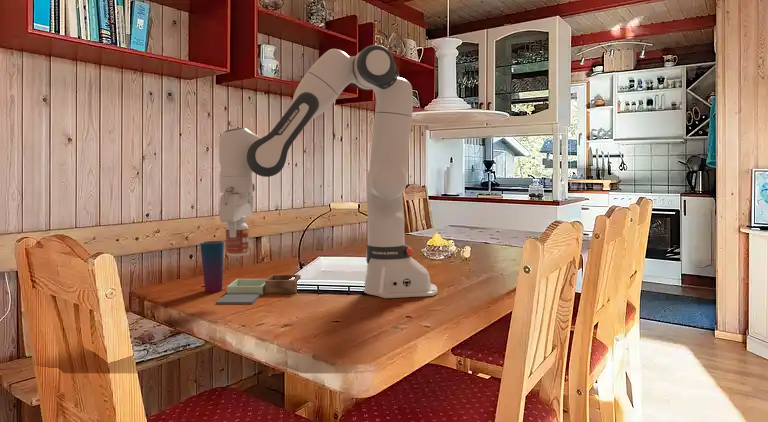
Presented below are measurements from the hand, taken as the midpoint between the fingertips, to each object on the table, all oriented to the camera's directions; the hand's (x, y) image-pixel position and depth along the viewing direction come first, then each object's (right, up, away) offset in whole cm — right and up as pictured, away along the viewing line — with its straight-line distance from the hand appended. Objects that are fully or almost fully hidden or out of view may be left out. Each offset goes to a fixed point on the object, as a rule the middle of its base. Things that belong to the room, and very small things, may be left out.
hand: (237, 235), depth 151 cm
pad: (0, -18, +2) cm, 18 cm away
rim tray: (0, -18, +12) cm, 22 cm away
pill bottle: (0, -6, +1) cm, 6 cm away
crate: (+11, -17, +12) cm, 24 cm away
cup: (-11, -18, +13) cm, 24 cm away
